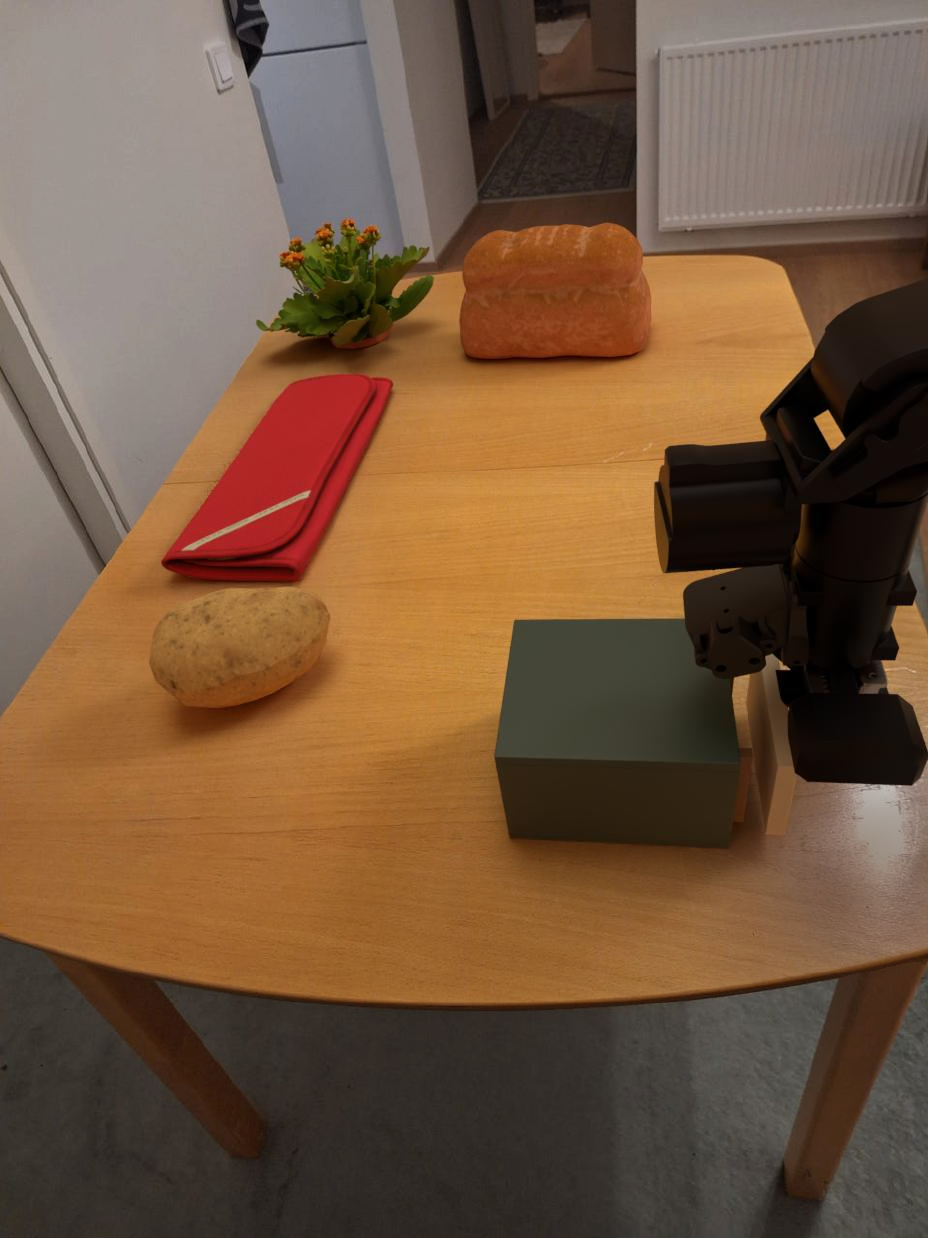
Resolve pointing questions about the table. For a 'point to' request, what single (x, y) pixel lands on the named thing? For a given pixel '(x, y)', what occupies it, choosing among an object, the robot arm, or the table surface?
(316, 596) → the potato
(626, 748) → the cabinet
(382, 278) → the potted flower
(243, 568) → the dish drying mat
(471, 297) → the bread
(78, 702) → the table surface
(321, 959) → the table surface
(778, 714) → the drawer
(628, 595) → the table surface
